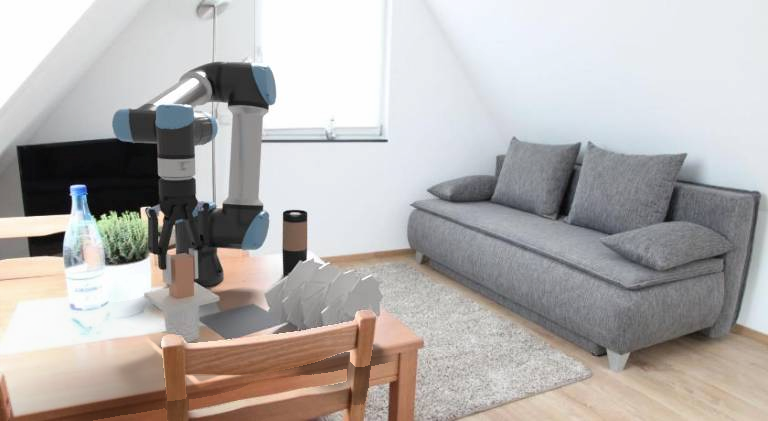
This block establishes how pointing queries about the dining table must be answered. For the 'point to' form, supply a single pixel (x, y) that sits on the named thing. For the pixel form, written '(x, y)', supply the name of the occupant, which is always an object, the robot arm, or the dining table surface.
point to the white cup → (183, 323)
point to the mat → (240, 321)
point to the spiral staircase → (321, 296)
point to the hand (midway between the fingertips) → (180, 279)
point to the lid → (181, 288)
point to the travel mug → (294, 239)
